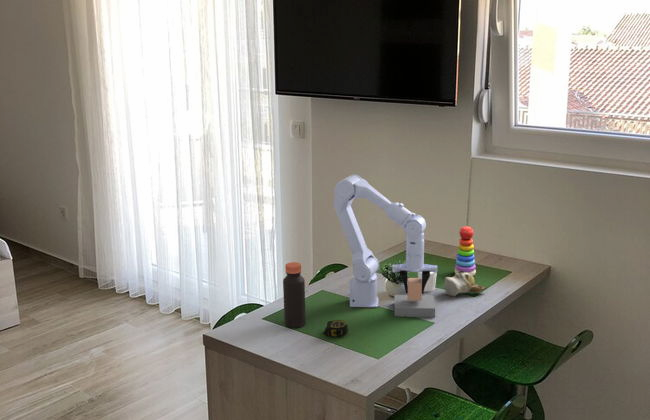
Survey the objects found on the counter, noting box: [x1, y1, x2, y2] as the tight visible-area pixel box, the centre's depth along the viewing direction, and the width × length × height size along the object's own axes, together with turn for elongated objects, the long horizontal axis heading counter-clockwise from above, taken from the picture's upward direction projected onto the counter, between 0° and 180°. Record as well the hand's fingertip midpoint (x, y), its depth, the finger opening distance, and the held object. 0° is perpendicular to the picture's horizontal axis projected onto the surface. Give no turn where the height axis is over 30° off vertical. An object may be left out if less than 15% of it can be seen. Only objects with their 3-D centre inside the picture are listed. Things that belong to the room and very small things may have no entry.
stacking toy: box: [454, 225, 477, 277], centre depth 259 cm, size 8×8×19 cm
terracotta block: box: [406, 277, 423, 300], centre depth 228 cm, size 4×4×6 cm
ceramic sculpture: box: [443, 270, 488, 297], centre depth 242 cm, size 11×9×15 cm
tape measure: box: [323, 319, 349, 338], centre depth 213 cm, size 7×7×4 cm
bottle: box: [282, 261, 307, 329], centre depth 218 cm, size 7×7×20 cm
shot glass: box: [417, 272, 438, 293], centre depth 247 cm, size 7×7×7 cm
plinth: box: [394, 294, 436, 318], centre depth 229 cm, size 13×11×3 cm
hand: (414, 292), depth 228 cm, fingers closed on terracotta block, 4 cm apart
